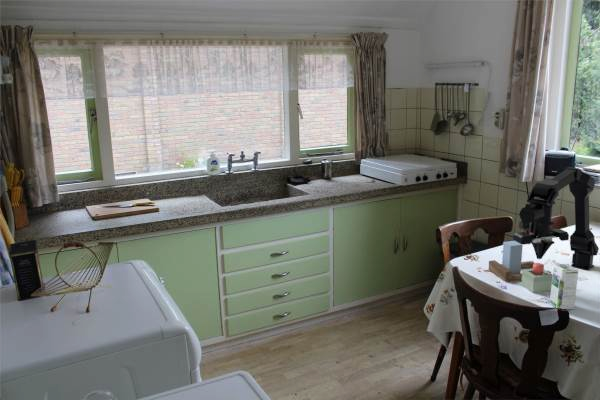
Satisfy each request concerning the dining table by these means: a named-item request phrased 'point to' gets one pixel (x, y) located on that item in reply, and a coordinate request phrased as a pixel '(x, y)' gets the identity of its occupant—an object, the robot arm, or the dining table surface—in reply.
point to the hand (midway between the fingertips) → (539, 258)
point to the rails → (523, 265)
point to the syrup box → (563, 286)
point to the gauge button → (538, 268)
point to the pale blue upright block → (512, 256)
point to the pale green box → (536, 281)
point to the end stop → (500, 271)
